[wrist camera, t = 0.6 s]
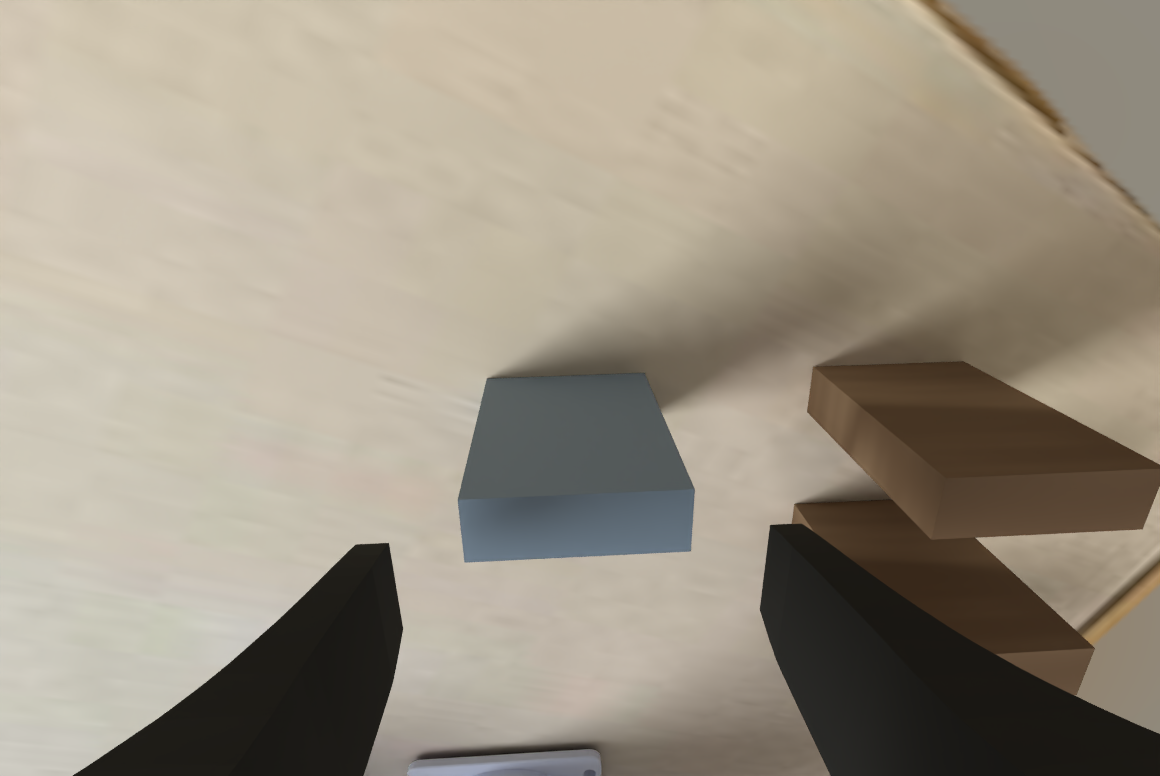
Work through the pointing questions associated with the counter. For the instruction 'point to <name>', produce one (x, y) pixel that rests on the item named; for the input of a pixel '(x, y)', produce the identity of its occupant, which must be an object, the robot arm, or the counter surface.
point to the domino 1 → (979, 452)
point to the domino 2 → (955, 586)
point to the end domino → (573, 472)
